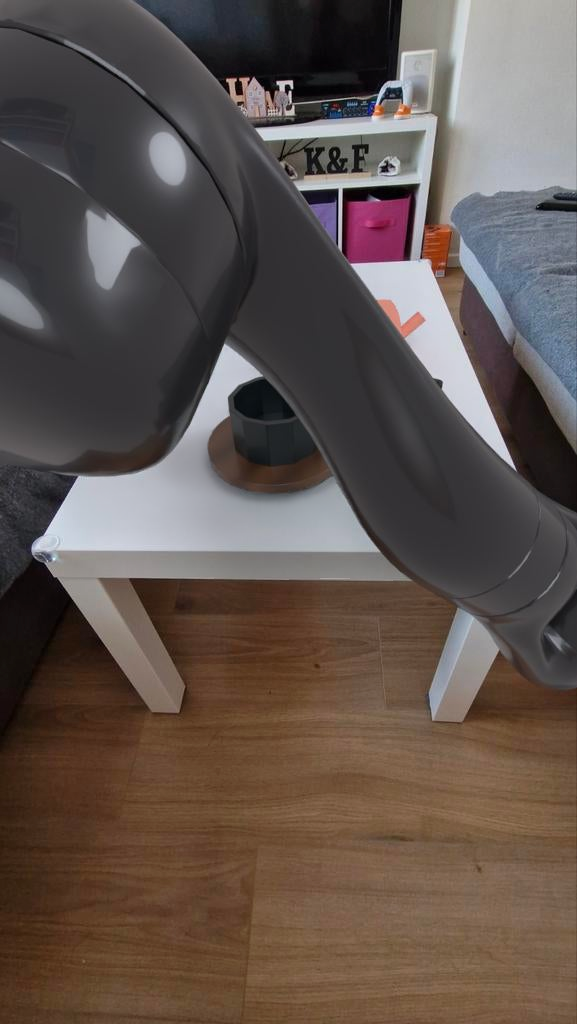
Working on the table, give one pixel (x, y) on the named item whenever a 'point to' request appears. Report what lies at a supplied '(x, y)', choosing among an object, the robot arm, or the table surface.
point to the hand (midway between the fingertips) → (345, 365)
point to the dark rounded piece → (264, 443)
